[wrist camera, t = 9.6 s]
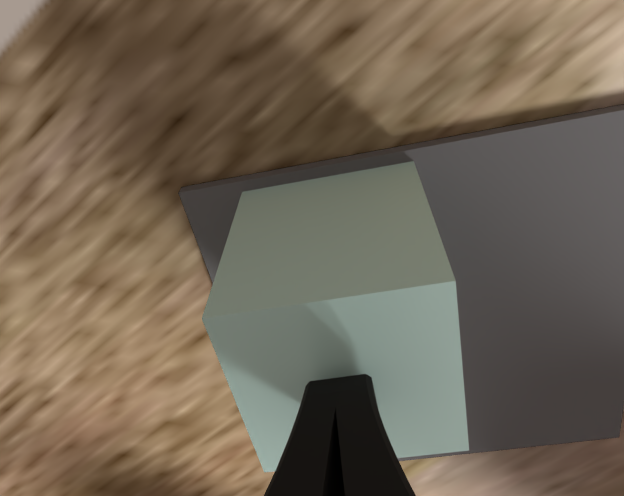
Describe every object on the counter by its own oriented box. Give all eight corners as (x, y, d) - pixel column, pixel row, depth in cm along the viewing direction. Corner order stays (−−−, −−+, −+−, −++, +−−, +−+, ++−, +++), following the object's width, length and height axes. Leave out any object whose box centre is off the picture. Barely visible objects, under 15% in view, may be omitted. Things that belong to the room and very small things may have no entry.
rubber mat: (658, 97, 15) (666, 101, 14) (614, 429, 22) (619, 437, 21) (181, 187, 16) (178, 192, 16) (285, 465, 24) (285, 473, 23)
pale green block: (413, 160, 15) (455, 280, 10) (429, 300, 18) (469, 450, 13) (242, 191, 16) (201, 318, 11) (282, 322, 19) (264, 472, 14)
